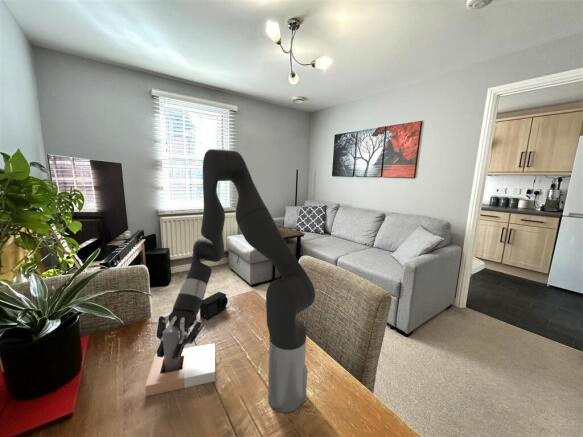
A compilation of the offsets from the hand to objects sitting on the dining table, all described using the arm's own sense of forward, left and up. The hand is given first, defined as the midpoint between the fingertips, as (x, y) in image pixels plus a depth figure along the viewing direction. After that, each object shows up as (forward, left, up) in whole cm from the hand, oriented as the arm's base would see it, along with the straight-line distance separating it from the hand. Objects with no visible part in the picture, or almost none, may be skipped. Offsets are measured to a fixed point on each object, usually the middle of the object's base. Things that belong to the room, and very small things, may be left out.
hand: (167, 357), depth 67 cm
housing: (-4, -2, -7) cm, 8 cm away
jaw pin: (-1, -2, -5) cm, 5 cm away
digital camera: (-13, -31, -7) cm, 34 cm away
